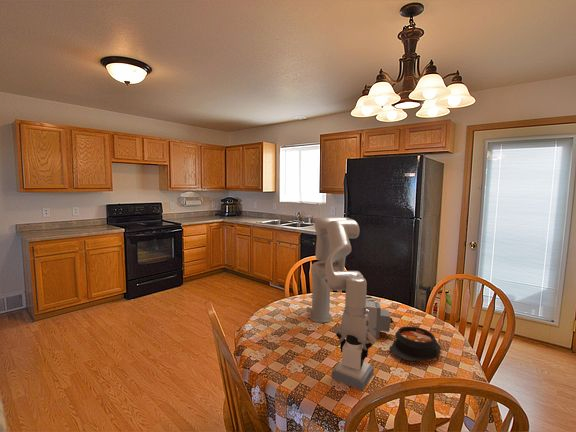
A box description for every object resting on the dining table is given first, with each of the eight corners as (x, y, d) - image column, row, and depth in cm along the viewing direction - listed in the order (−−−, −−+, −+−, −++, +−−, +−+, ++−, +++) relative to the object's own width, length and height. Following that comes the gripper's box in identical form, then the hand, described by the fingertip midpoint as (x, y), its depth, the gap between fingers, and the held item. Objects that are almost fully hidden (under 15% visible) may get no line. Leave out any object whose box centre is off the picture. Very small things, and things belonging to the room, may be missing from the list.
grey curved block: (366, 305, 183) (371, 292, 179) (372, 310, 180) (377, 297, 176) (346, 311, 174) (351, 297, 171) (351, 316, 171) (356, 302, 167)
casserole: (414, 335, 146) (415, 319, 146) (451, 354, 131) (453, 335, 130) (378, 349, 133) (379, 331, 132) (415, 372, 118) (417, 351, 117)
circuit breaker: (392, 339, 142) (394, 309, 141) (361, 336, 145) (363, 306, 144) (390, 332, 150) (392, 303, 148) (361, 329, 153) (362, 300, 151)
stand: (331, 378, 113) (332, 368, 112) (344, 363, 123) (344, 353, 122) (362, 390, 106) (363, 380, 106) (373, 373, 116) (374, 363, 116)
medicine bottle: (360, 370, 109) (362, 339, 108) (341, 365, 112) (342, 334, 111) (364, 360, 116) (365, 330, 115) (346, 355, 119) (347, 326, 118)
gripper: (381, 312, 110) (379, 357, 112) (338, 301, 120) (336, 343, 122) (375, 319, 104) (372, 367, 106) (329, 307, 114) (328, 351, 116)
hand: (353, 354), depth 114 cm, fingers closed on medicine bottle, 7 cm apart
